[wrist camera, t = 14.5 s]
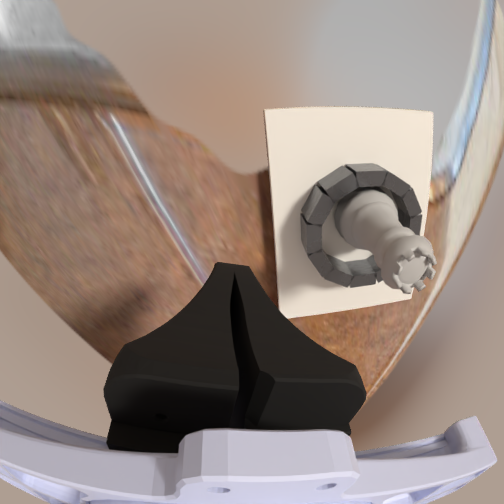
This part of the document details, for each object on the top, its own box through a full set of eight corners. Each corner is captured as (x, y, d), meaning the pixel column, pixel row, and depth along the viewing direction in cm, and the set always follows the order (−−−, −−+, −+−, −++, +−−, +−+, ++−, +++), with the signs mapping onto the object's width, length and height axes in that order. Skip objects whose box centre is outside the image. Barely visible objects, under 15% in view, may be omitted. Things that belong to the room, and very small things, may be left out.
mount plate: (406, 292, 26) (411, 298, 25) (278, 311, 26) (280, 319, 25) (425, 110, 18) (433, 112, 17) (263, 109, 18) (264, 109, 17)
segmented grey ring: (401, 264, 23) (412, 278, 21) (301, 278, 23) (307, 293, 21) (412, 162, 19) (426, 170, 17) (298, 166, 19) (304, 174, 17)
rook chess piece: (399, 197, 20) (464, 249, 13) (371, 248, 22) (420, 316, 15) (349, 171, 19) (408, 218, 12) (321, 229, 21) (360, 298, 14)
